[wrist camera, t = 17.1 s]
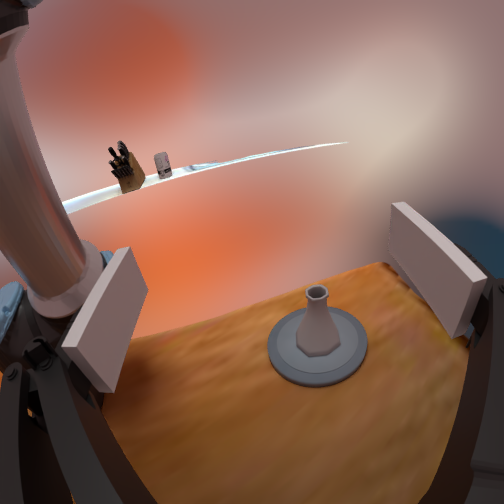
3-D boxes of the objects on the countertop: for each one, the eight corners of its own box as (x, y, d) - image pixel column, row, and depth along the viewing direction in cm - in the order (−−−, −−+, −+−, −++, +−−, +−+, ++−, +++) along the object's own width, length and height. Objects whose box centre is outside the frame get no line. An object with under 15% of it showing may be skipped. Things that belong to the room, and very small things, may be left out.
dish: (273, 395, 37) (272, 389, 36) (264, 320, 51) (263, 313, 50) (379, 373, 37) (381, 366, 36) (350, 305, 50) (350, 298, 49)
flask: (348, 347, 40) (353, 298, 35) (305, 364, 39) (302, 317, 34) (328, 318, 46) (328, 270, 41) (288, 332, 45) (282, 284, 40)
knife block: (118, 199, 143) (102, 147, 127) (130, 182, 173) (118, 139, 157) (136, 194, 144) (121, 140, 128) (146, 178, 174) (134, 133, 158)
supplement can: (159, 177, 166) (153, 154, 158) (172, 173, 168) (166, 150, 160) (159, 180, 159) (153, 156, 152) (173, 176, 161) (167, 152, 153)
